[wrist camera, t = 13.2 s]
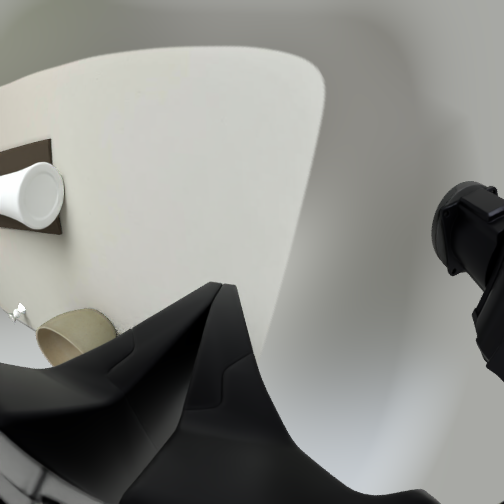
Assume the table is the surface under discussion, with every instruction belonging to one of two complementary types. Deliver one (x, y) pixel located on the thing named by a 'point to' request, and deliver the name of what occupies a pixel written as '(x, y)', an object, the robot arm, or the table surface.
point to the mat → (18, 161)
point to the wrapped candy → (17, 313)
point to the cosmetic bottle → (32, 195)
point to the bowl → (73, 334)
